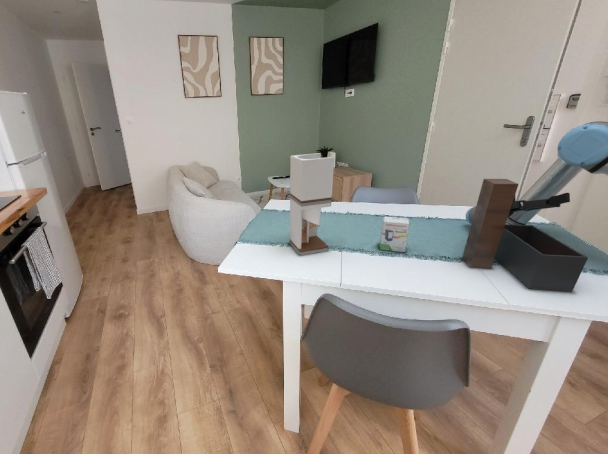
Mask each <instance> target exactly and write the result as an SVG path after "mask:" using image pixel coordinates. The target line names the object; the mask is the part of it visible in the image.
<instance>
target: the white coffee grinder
mask: <svg viewBox="0 0 608 454" xmlns="http://www.w3.org/2000/svg"><path fill="white" fill-rule="evenodd" d="M289 163H290V164H289V165H290V166H289V167H290V168H289V173H290V174H289V244H290V246H291V247H292V248H293V249H294V250H295V252H297V254H298V255H299V256H304V255H305V256H306V255H311V254H316V253H317V254H318V253H323V252H328V251H329V245H328V244H327V243H326V242H325V241H324V240H322V239H321V238H320V237H319V236H318V227H321V218H322V208H323V209H324V208H330V207H332V199H333V185H334V168H335V156H330V157H322V153H321V152H317V153H306V154H293V155H290V162H289Z"/></svg>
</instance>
